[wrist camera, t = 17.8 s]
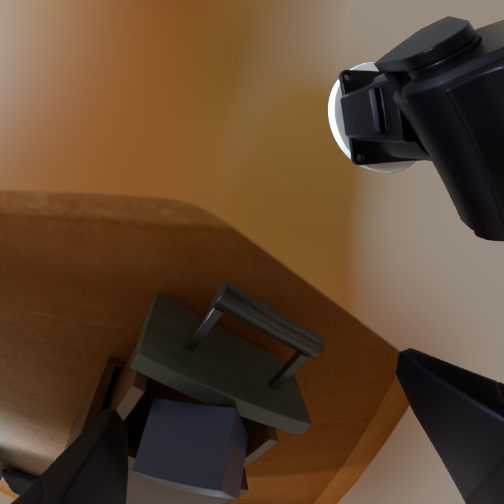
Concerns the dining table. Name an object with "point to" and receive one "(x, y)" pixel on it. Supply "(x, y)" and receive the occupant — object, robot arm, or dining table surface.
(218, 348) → the drawer
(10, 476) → the black flat pad
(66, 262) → the dining table surface
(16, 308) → the dining table surface
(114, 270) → the dining table surface
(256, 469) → the dining table surface
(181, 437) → the block
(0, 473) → the bluetooth speaker
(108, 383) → the cabinet
